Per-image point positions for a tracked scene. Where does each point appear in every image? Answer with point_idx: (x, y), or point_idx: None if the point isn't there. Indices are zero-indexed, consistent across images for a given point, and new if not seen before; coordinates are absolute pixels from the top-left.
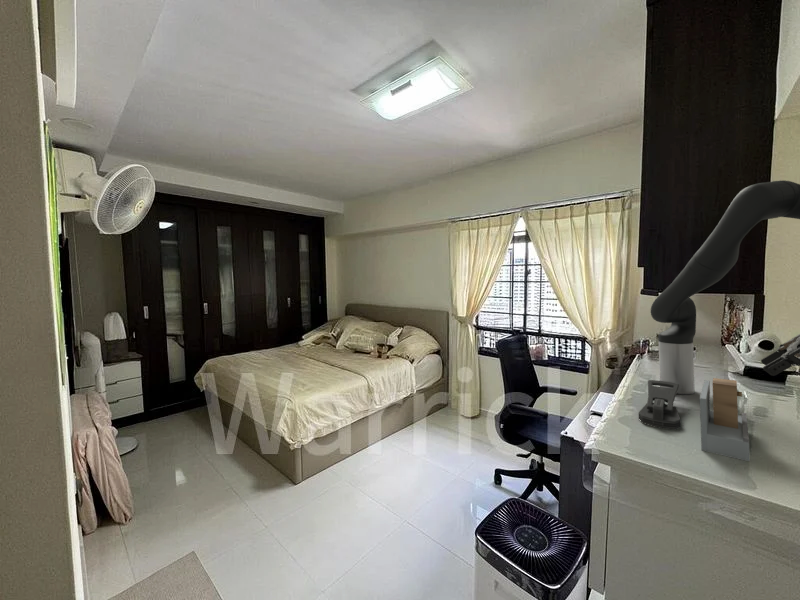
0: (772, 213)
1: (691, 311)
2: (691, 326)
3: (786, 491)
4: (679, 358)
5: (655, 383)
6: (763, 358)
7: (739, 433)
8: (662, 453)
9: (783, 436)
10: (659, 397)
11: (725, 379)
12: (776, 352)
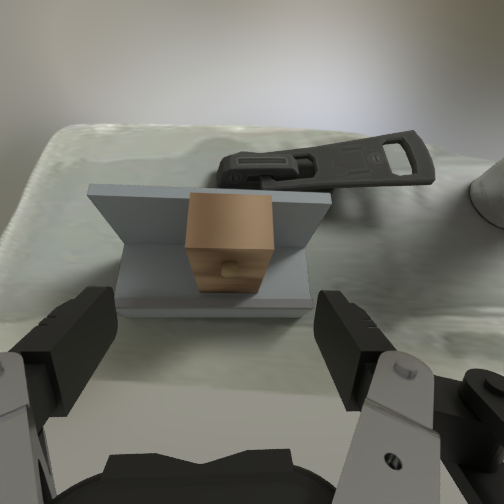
0: None
1: None
2: None
3: None
4: None
5: (404, 144)
6: (339, 296)
7: (166, 294)
8: (85, 203)
9: (327, 379)
10: (317, 162)
11: (270, 222)
12: (355, 350)
